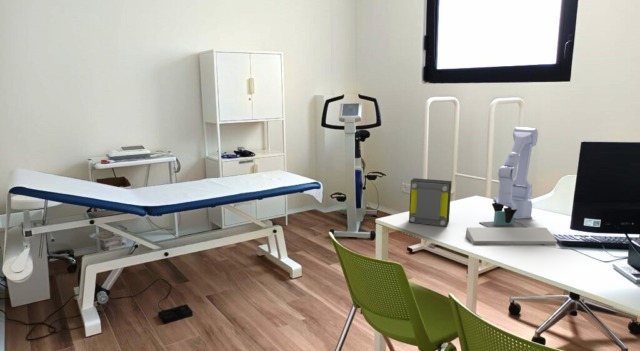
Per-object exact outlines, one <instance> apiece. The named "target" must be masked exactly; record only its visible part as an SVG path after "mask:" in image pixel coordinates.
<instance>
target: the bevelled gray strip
mask: <svg viewBox="0 0 640 351" xmlns="http://www.w3.org/2000/svg"><path fill="white" fill-rule="evenodd" d="M464 236H465V237H466V238H467V239H468V240H469V241H470V242H471V243H472V245H556V244H557V243H558V240H557V239H556V238H555V236H554V235H553V234H552V233H551V231H550V230H549V229H548V228H547V227H529V228H491V227H486V226H483V227H482V226H481V227H478V226H475V227H470V226H469V227H466V230H465V235H464Z"/></svg>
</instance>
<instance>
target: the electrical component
mask: <svg viewBox="0 0 640 351" xmlns="http://www.w3.org/2000/svg"><path fill="white" fill-rule="evenodd" d="M409 194H410V195H409V209H408V211H409V212H408V223H412V222H413V223H414V224H421V225H422V224H424V225H431V226H438V227H440V226H441V227H448V225H449V223H450V214H451V213H450V211H451V196H452V195H451V194H452V180H443V179H442V180H441V179H429V178H414V177H413V178H412V179H411V180H410V193H409Z"/></svg>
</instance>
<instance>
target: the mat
mask: <svg viewBox="0 0 640 351" xmlns="http://www.w3.org/2000/svg"><path fill="white" fill-rule="evenodd" d="M478 223H479V224H480V225H482V226H483V227H491V228H530V227H529V226H527V225H524V224H523V223H520V222H519V221H517V220H515V219H513V224H509V225H494V220H493V221H481V222H478Z"/></svg>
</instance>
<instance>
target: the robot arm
mask: <svg viewBox="0 0 640 351" xmlns="http://www.w3.org/2000/svg"><path fill="white" fill-rule="evenodd" d="M538 136H539V132H538V129H537V128H536V127H535V128H534V127H533V128H532V127H519V126H515V128H514V129H513V132H512V137H513V142H514V143H513V145H512V149H511V151H510V152H509V153H507V155H506V157H505V160H504V162H503V165H502V166H500V167H499V168H498V172H497V174H498V175H497V176H498V182H499V188H498V197H493V198H492V199H493V201H492V203H491V206H492V208H493V210H494V212H495V211H505V222H506V223H510V222H511V220H512V217H513V215H514V220H521V219H532V218H533V216H532V212H533V203H532V200H531V197H532V194H533V185H532V183H531V182H530V181H529V180H528V174H529V167H530V162H531V156H532V149H533V147H536V145H537V143H538ZM493 202H494V203H493Z"/></svg>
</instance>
